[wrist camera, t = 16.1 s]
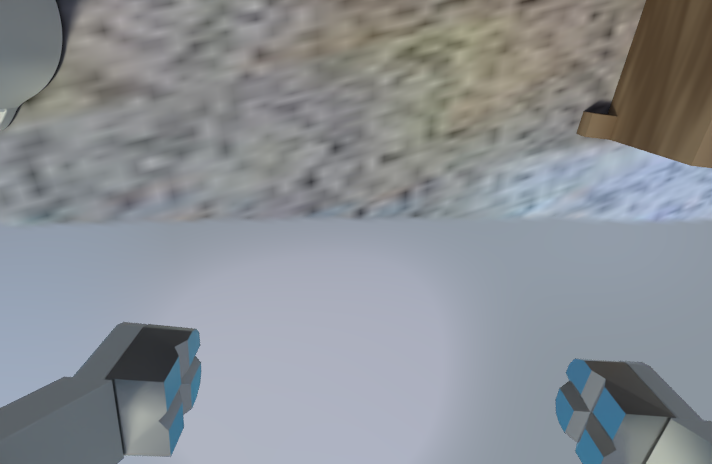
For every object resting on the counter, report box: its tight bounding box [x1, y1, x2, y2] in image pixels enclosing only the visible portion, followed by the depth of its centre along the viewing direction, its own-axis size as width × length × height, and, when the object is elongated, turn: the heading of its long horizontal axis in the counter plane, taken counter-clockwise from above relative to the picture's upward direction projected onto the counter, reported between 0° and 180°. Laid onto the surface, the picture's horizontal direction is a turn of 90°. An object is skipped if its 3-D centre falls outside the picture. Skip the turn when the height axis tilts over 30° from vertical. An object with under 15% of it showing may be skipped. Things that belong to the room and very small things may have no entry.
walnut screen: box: [577, 0, 712, 168], centre depth 30 cm, size 6×14×11 cm, turn 174°
